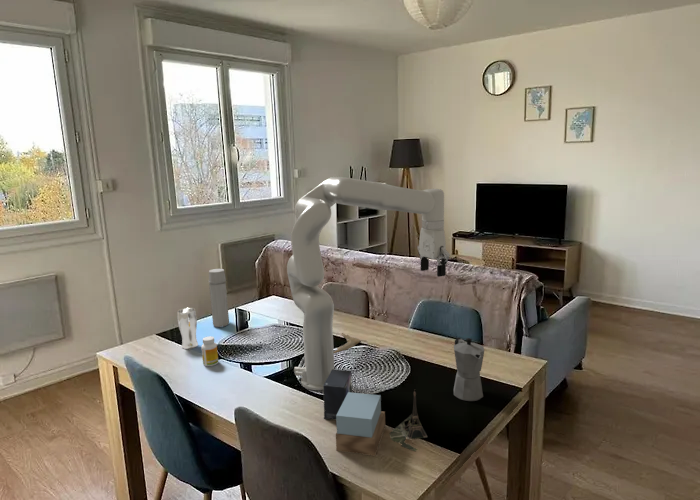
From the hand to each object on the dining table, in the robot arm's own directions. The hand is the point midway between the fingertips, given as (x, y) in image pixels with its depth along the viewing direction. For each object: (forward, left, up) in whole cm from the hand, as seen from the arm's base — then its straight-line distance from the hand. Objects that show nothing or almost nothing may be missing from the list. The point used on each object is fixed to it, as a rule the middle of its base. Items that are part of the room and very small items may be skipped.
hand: (432, 273), depth 171 cm
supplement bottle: (-78, -22, -31) cm, 87 cm away
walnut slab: (-13, -56, -31) cm, 66 cm away
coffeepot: (+13, -26, -31) cm, 42 cm away
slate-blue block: (-13, -56, -26) cm, 64 cm away
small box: (-23, -44, -31) cm, 59 cm away
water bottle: (-95, +16, -31) cm, 101 cm away
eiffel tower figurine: (0, -50, -32) cm, 59 cm away
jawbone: (-37, +2, -32) cm, 49 cm away
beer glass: (-95, -9, -31) cm, 100 cm away
